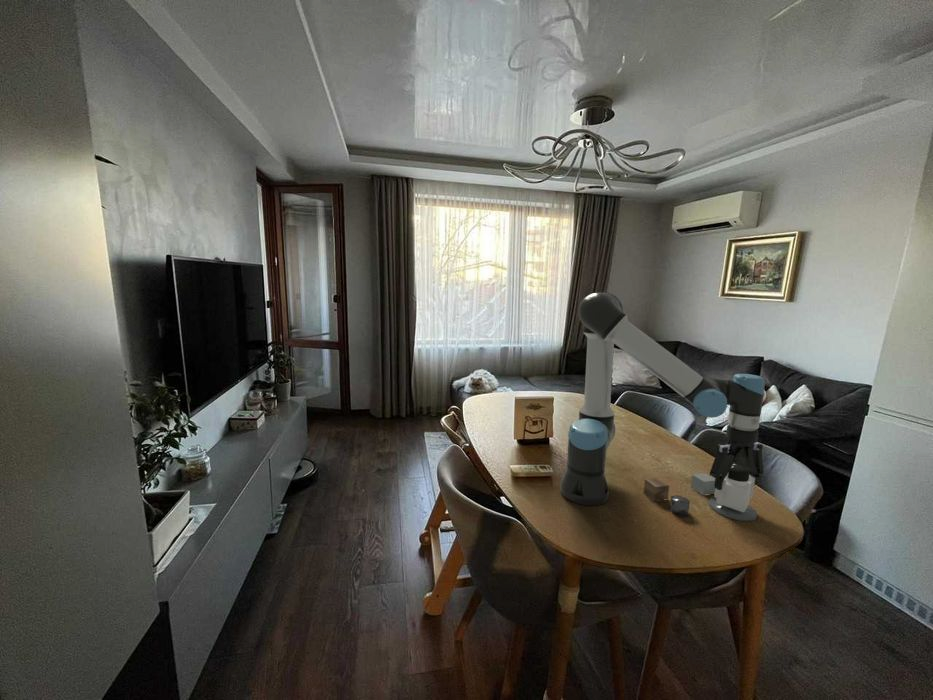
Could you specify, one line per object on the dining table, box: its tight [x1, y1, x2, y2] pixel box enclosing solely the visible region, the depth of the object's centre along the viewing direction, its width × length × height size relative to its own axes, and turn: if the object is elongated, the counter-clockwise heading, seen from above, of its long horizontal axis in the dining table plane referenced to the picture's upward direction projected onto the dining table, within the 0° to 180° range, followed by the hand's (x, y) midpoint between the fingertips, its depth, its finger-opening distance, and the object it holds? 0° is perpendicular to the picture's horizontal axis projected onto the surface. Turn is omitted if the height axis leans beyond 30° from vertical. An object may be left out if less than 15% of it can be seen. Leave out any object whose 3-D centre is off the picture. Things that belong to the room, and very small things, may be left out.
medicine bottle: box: [716, 463, 752, 512], centre depth 115 cm, size 7×7×12 cm
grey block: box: [690, 472, 715, 496], centre depth 127 cm, size 5×5×5 cm
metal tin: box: [669, 494, 691, 518], centre depth 114 cm, size 5×5×4 cm
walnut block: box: [643, 477, 670, 502], centre depth 123 cm, size 5×5×5 cm
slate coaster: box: [708, 496, 758, 522], centre depth 116 cm, size 12×12×1 cm
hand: (733, 497), depth 116 cm, fingers closed on medicine bottle, 9 cm apart
